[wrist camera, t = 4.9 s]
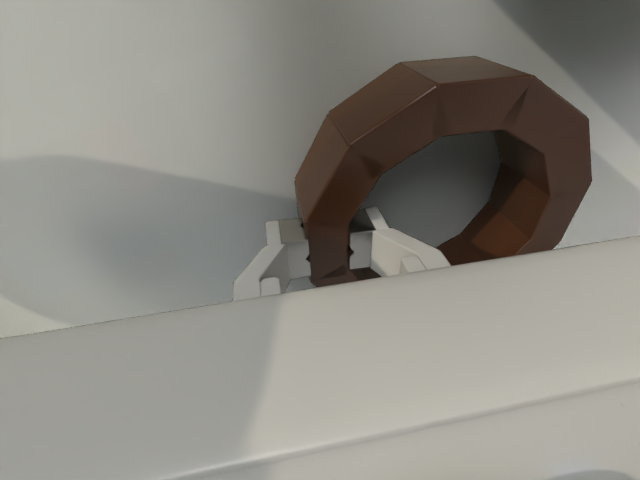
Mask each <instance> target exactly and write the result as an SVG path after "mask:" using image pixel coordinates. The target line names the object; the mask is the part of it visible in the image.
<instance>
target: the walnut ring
mask: <svg viewBox="0 0 640 480" xmlns="http://www.w3.org/2000/svg"><path fill="white" fill-rule="evenodd" d="M486 131H494V135H495V138H496V142H497V146H498V150H499V153H500V157H501V161H502V163H501V166H500V169H499V172H498V176H497V179H496V182H495V185H494V188H493V191H492V194H491V197H490V200H489V202H488V203H487V204H486V206H485V207H484V208H483V209H482V210H481V211H480V212H479V214H478V215H477V216H476V217H475V218H474V219H473V220H472V221H471V223H470V224H469V225H468V226H467V227H466V228H465V229H464V231H463V232H462V233H461V234H460V235H458V236H456V237H455V238H453V239H451V240H449V241H447V242H446V243H444V244H442V245H440V246H439V247H437V248H436V249H438V250H440V251H441V252H442V253H443V255H444V256H445V258H446V259H447V260H448V262H449V263H450V265H451V266H454V265H460V264H466V263H472V262H479V261H485V260H491V259H497V258H504V257H510V256H516V255H522V254H529V253H535V252H541V251H547V250H552V249H553V248H554V247H555V246H556V245H557V244H559V242H560V241H561V239H562V237H563V235H564V233H565V231H566V229H567V228H568V226H569V224H570V222H571V220H572V218H573V216H574V214H575V212H576V211H577V209H578V207H579V205H580V203H581V201H582V199H583V197H584V195H585V194H586V192H587V190H588V188H589V186H590V184H591V182H592V174H591V154H590V135H589V119H588V118H587V116H586V115H584V114H583V113H582V112H581V111H579V110H578V109H577V108H575V107H574V106H573V105H572V104H570V103H569V102H568V101H566V100H565V99H564V98H563V97H561V96H560V95H559V94H557V93H556V92H555V91H554V90H552V89H551V88H550V87H548V86H547V85H546V84H545V83H543V82H542V81H541V80H539V79H538V78H537V77H536V76H534V75H531V74H528V73H525V72H522V71H519V70H516V69H513V68H510V67H507V66H504V65H501V64H498V63H495V62H492V61H489V60H486V59H483V58H480V57H477V56H468V57H456V58H444V59H433V60H421V61H409V62H400V63H399V64H396V65H394V66H393V67H391V68H390V69H389V70H387V71H386V72H384V73H383V74H382V75H380V76H379V77H377V78H376V79H375V80H373V81H372V82H370V83H369V84H368V85H366V86H365V87H363V88H362V89H360V90H359V91H358V92H356V93H355V94H353V95H352V96H351V97H349V98H348V99H346V100H345V101H344V102H342V103H341V104H339V105H338V106H337V107H335V108H334V109H332V110H331V111H330V112H329V114H327V116H326V118H325V120H324V122H323V124H322V126H321V128H320V130H319V132H318V134H317V136H316V138H315V140H314V142H313V144H312V146H311V148H310V150H309V152H308V154H307V156H306V158H305V159H304V161H303V163H302V165H301V167H300V169H299V171H298V173H297V175H296V177H295V191H296V201H297V212H298V218H300V217H302V220H303V227H304V228H305V232H306V234H307V237H308V244H309V255H308V257H309V260H310V268H311V276H309V279H310V281H311V283H312V284H313V285H314V286H315V287H316V288H318V287H324V286H330V285H336V284H342V283H349V282H355V281H361V280H367V279H373V278H380V277H382V276H380V275H379V274H378V273H376V272H375V271H374V270H373V269H371V268H370V267H365V268H357V269H350V268H349V266H348V251H349V244H348V230H349V224H350V222H351V221H352V219H353V218H354V216H355V215H356V213H357V211H358V210H359V208H360V207H361V205H362V204H363V202H364V201H365V199H366V198H367V196H368V195H369V193H370V191H371V190H372V188H373V187H374V185H375V184H376V182H377V181H378V179H379V178H380V176H381V175H382V174H383V173H385V172H386V171H388V170H389V169H391V168H393V167H394V166H396V165H397V164H399V163H400V162H402V161H404V160H405V159H407V158H408V157H410V156H411V155H413V154H415V153H416V152H418V151H419V150H421V149H422V148H424V147H425V146H427V145H429V144H430V143H432V142H433V141H435V140H436V139H438V138H440V137H441V136H450V135H459V134H468V133H477V132H486Z"/></svg>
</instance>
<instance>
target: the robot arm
mask: <svg viewBox="0 0 640 480" xmlns="http://www.w3.org/2000/svg"><path fill="white" fill-rule="evenodd" d="M278 222H279V224H278ZM265 228H266V239H267V246H265V247H263V248H262V249H261V250H260V252H259V253H258V254H257V255H256V256H255V258H254V259H253V260H252V261H251V262H250V263H249V265H248V266H247V267H246V268H245V269H244V270H243V272H242V273H241V274H240V275H239V276H238V278H237V279H236V280H235V281H234V282H233V301H231V302H225V303H218V304H212V305H206V306H200V307H194V308H188V309H181V310H175V311H169V312H163V313H157V314H150V315H144V316H138V317H132V318H126V319H119V320H113V321H107V322H101V323H95V324H89V325H82V326H76V327H70V328H64V329H58V330H51V331H45V332H39V333H33V334H27V335H20V336H13V337H6V338H0V480H640V236H633V237H627V238H621V239H615V240H608V241H602V242H596V243H590V244H584V245H578V246H572V247H566V248H560V249H553V250H547V251H541V252H535V253H529V254H522V255H516V256H510V257H504V258H497V259H491V260H485V261H479V262H472V263H466V264H460V265H454V266H451V265H450V263H449V262H448V260H447V259H446V258H445V256H444V255H443V253H442V252H441V251H440V250H438V249H436V248H434V247H432V246H430V245H428V244H425V243H423V242H421V241H419V240H417V239H415V238H413V237H411V236H409V235H406V234H404V233H402V232H400V231H398V230H396V229H394V228H389V227H388V225H387V223H386V222H385V220H384V218H383V217H382V215H381V213H380V212H379V210H378V208H377V207H370V208H364V209H359V210H358V211H357V213H356V215H355V216H354V218H353V219H352V221H351V222H350V224H349V230H348V244H349V251H348V266H349V268H350V269H357V268H365V267H370V268H371V269H373V270H374V271H375V272H376V273H378V274H379V275H380V276H382V277H380V278H373V279H367V280H361V281H355V282H349V283H342V284H336V285H330V286H324V287H318V288H311V289H305V290H299V291H293V292H287V293H284V292H285V290H286V288H287V286H288V284H289V282H290V281H291V280H290V279H295V278H300V277H306V276H311V268H310V260H309V257H308V255H309V244H308V237H307V234H306V232H305V228H304V227H303V220H302V217H300V218H292V219H283V220H274V221H267V222H265ZM279 229H280V230H279ZM280 236H281V237H280Z"/></svg>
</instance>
